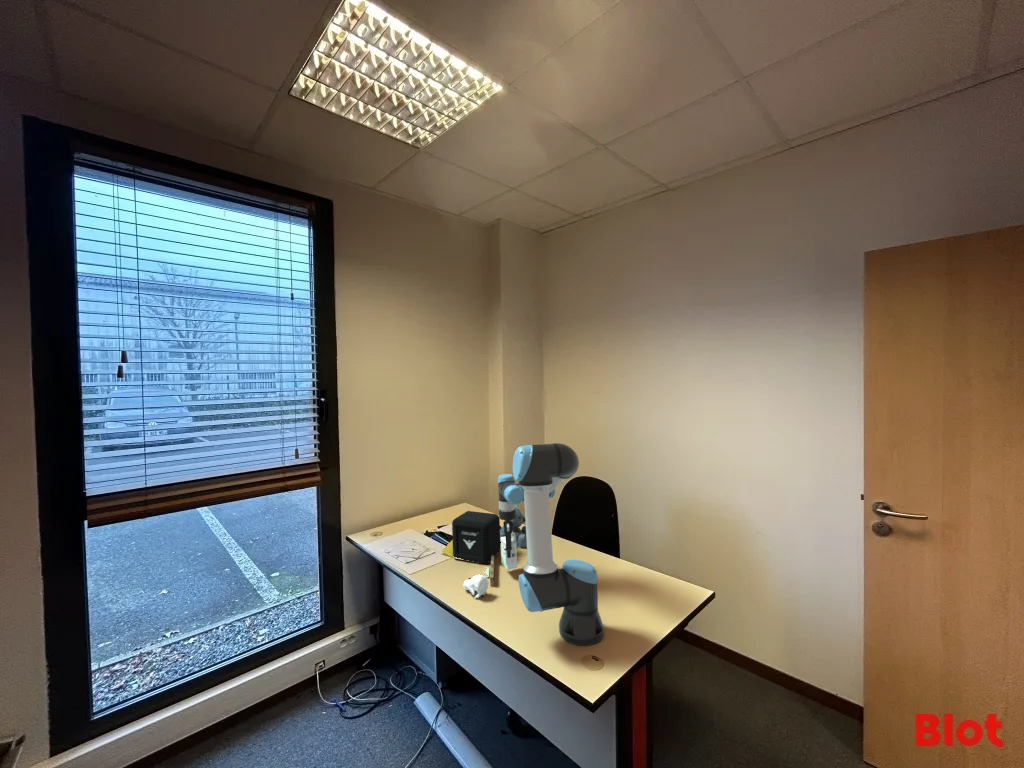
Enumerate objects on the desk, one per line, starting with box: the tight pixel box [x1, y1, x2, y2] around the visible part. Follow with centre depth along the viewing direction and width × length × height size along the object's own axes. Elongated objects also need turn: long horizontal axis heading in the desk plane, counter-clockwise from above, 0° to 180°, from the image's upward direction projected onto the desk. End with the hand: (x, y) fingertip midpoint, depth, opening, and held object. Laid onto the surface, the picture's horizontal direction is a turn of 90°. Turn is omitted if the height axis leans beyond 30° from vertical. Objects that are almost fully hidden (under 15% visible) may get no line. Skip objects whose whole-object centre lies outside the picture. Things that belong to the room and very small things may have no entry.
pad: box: [483, 567, 490, 578], centre depth 183 cm, size 9×9×1 cm
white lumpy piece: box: [463, 574, 490, 599], centre depth 166 cm, size 6×8×12 cm
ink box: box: [500, 532, 518, 571], centre depth 182 cm, size 9×5×15 cm, turn 21°
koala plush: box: [500, 504, 527, 548], centre depth 218 cm, size 17×18×20 cm
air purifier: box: [451, 510, 501, 565], centre depth 201 cm, size 20×15×20 cm
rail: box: [489, 555, 495, 587], centre depth 182 cm, size 22×1×4 cm, turn 2°
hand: (508, 559), depth 182 cm, fingers closed on ink box, 9 cm apart
